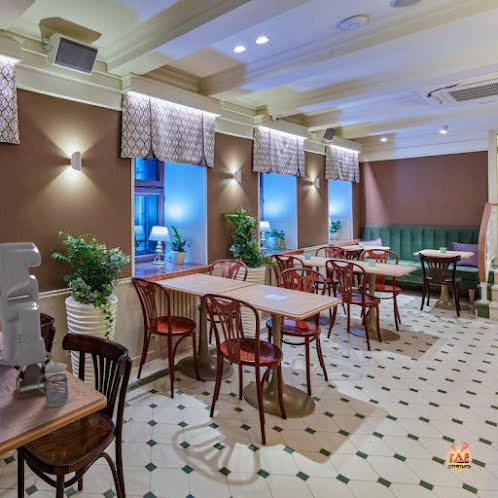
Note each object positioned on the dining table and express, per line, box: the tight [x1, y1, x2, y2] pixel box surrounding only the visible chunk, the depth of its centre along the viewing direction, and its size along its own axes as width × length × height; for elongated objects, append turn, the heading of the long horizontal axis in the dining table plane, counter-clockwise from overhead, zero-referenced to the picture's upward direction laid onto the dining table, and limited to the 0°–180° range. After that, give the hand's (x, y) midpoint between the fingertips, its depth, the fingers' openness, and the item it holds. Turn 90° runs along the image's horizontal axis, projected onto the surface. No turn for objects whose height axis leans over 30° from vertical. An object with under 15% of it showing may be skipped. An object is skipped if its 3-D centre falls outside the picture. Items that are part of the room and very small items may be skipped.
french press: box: [37, 340, 72, 408], centre depth 149 cm, size 10×12×25 cm
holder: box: [16, 374, 51, 401], centre depth 159 cm, size 12×12×3 cm
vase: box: [23, 363, 42, 384], centre depth 158 cm, size 7×7×9 cm
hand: (32, 377), depth 158 cm, fingers closed on vase, 6 cm apart
